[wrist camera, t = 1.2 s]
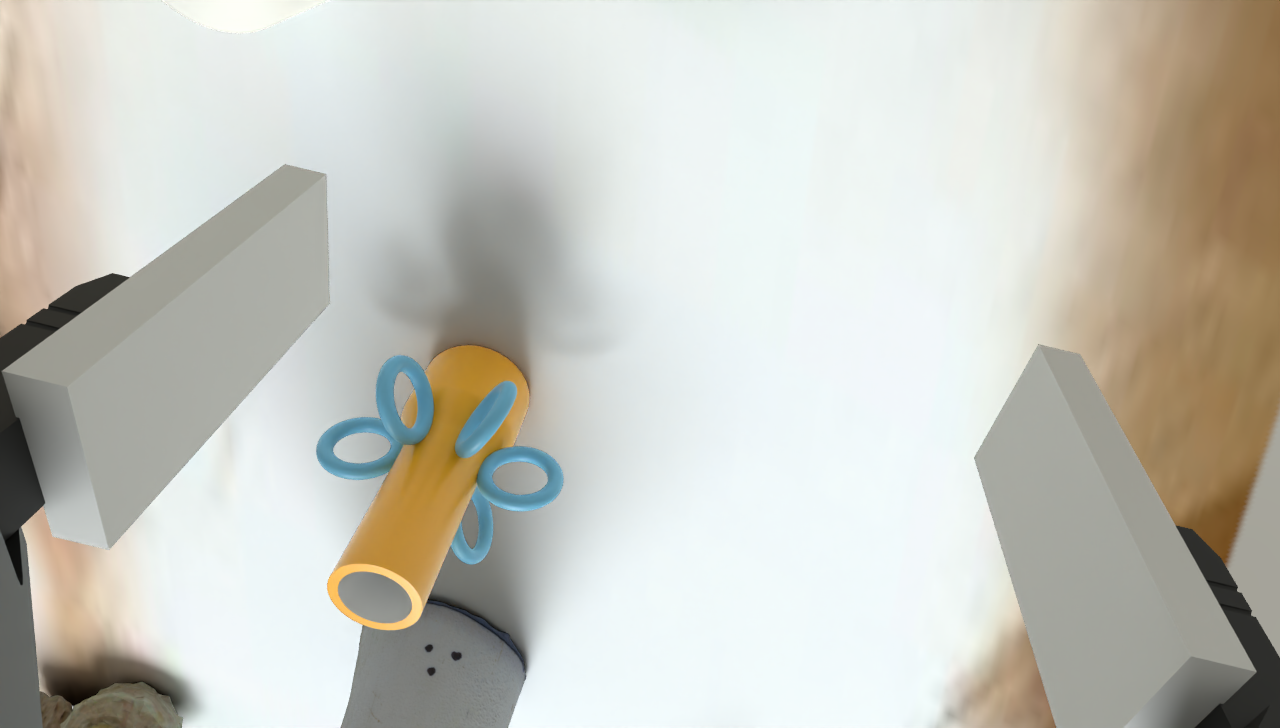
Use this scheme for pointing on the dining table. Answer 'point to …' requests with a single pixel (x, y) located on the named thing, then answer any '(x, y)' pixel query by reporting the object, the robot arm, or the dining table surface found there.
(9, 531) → the robot arm
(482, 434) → the vase
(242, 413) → the dining table surface
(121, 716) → the seashell
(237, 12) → the white cylinder
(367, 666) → the vase
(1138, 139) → the dining table surface
